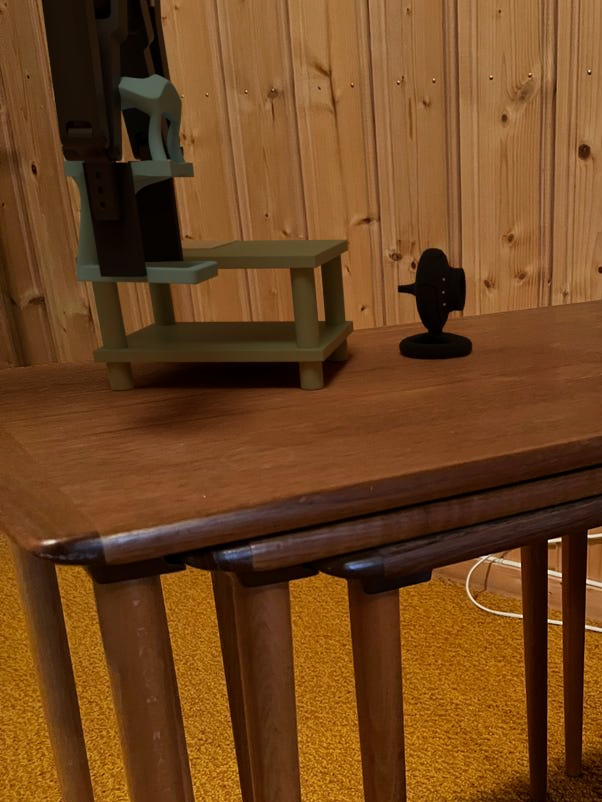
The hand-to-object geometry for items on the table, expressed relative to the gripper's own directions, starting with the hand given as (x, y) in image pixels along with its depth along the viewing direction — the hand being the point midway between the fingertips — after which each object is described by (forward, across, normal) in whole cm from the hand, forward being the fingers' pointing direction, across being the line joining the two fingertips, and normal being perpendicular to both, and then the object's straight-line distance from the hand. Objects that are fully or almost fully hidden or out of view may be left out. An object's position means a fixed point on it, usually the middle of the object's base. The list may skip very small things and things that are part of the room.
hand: (144, 269), depth 65 cm
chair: (+1, 0, 0) cm, 1 cm away
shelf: (+12, +24, +2) cm, 27 cm away
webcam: (+12, +34, -16) cm, 39 cm away
